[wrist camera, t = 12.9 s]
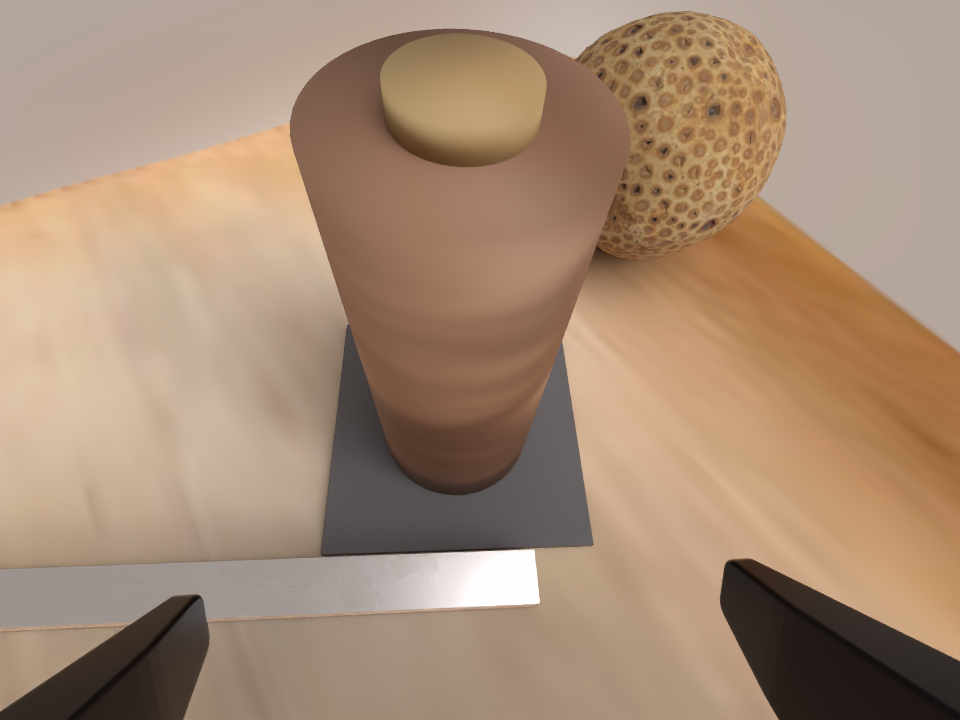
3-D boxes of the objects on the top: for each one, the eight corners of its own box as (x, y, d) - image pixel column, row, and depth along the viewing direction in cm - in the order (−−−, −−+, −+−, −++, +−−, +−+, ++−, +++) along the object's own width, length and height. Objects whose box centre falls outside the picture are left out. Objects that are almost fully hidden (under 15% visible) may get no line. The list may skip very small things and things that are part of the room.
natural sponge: (550, 335, 21) (622, 120, 12) (493, 195, 25) (519, -37, 17) (732, 298, 23) (907, 87, 14) (650, 173, 27) (747, -48, 18)
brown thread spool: (453, 527, 16) (457, 274, 5) (357, 423, 18) (203, 63, 7) (553, 427, 18) (713, 89, 7) (458, 343, 20) (467, -38, 9)
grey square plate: (322, 556, 16) (321, 554, 16) (348, 328, 20) (346, 324, 20) (590, 545, 17) (593, 544, 16) (558, 328, 21) (559, 324, 21)
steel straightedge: (-77, 634, 14) (-129, 634, 13) (-51, 579, 15) (-97, 572, 14) (531, 606, 16) (539, 603, 14) (527, 557, 16) (534, 549, 15)
